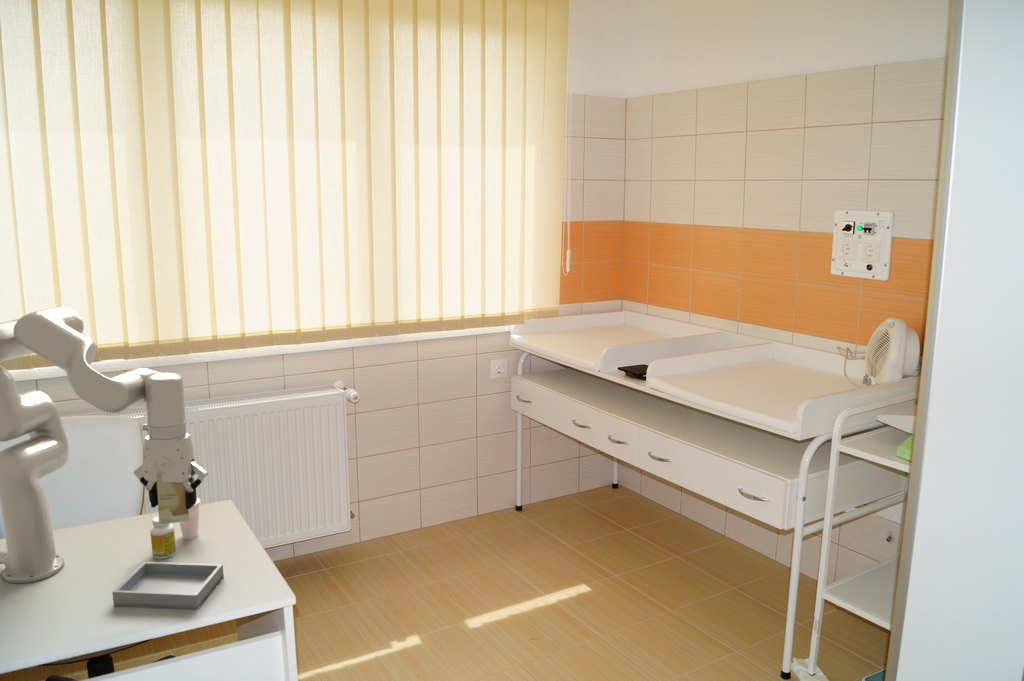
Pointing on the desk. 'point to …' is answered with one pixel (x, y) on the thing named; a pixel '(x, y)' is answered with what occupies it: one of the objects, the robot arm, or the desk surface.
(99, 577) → the desk surface
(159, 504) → the skincare box
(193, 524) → the smoothie
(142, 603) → the tray
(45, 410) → the robot arm
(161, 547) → the supplement bottle
